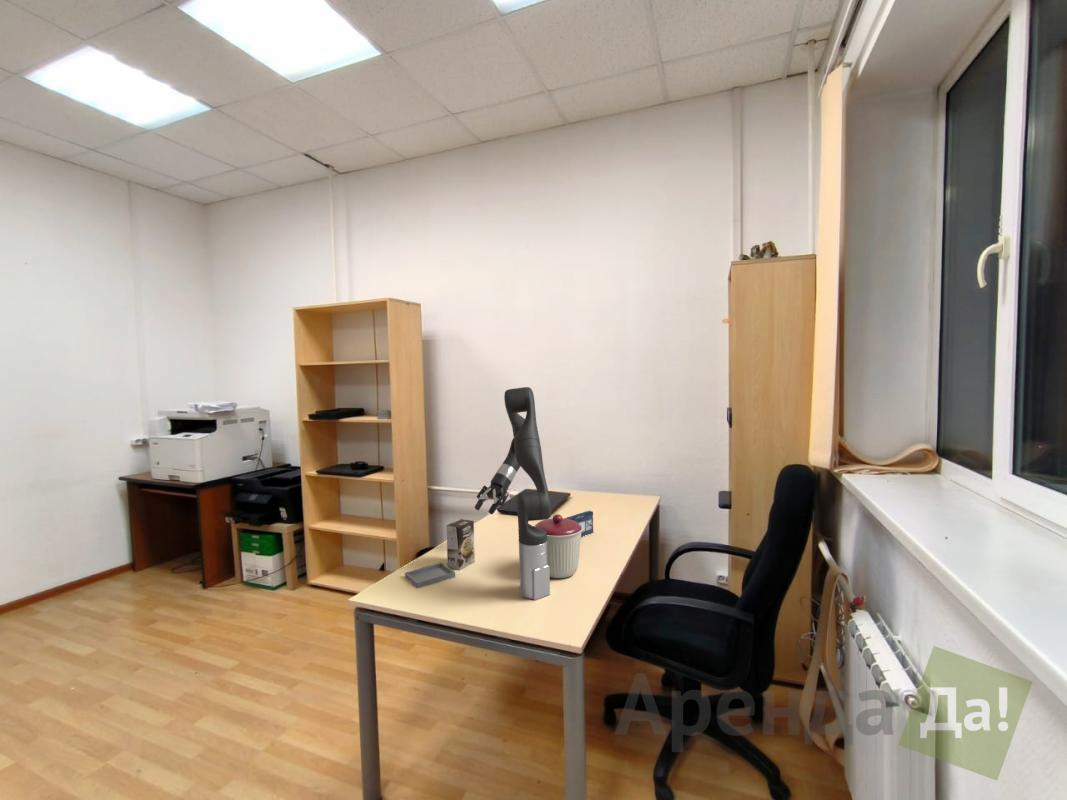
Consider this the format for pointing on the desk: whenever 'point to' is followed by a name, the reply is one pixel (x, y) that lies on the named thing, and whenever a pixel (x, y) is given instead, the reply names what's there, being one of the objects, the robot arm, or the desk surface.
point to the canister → (562, 545)
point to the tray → (429, 575)
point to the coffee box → (460, 544)
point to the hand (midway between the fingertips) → (483, 511)
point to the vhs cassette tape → (584, 521)
